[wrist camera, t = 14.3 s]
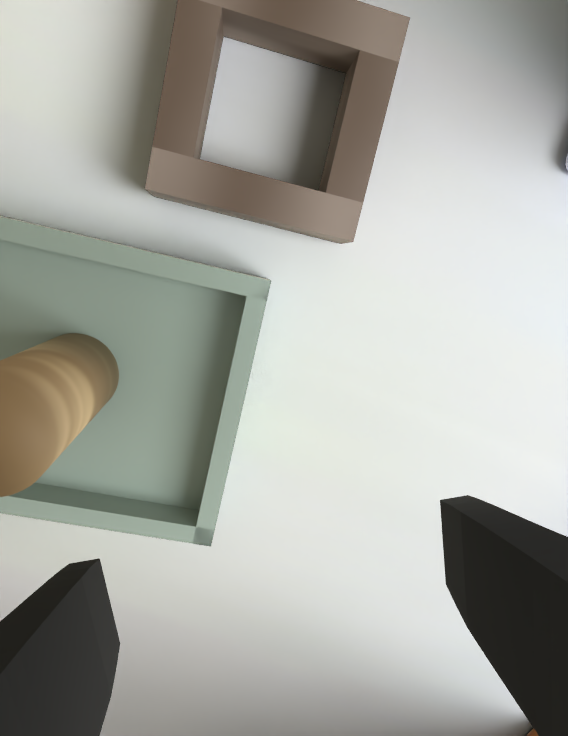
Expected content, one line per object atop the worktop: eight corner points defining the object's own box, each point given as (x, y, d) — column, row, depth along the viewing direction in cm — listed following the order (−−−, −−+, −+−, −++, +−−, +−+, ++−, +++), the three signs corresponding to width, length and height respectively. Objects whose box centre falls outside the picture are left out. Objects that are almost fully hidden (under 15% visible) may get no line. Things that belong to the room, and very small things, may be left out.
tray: (267, 278, 19) (271, 280, 17) (212, 522, 21) (210, 546, 19) (-78, 197, 17) (-113, 190, 16) (-105, 470, 19) (-139, 491, 17)
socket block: (390, 44, 18) (409, 17, 16) (340, 243, 19) (353, 241, 17) (192, -18, 17) (187, -55, 15) (154, 196, 18) (144, 189, 16)
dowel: (123, 340, 18) (60, 386, 12) (113, 418, 19) (47, 505, 12) (38, 326, 18) (-80, 364, 11) (30, 406, 19) (-86, 489, 12)
